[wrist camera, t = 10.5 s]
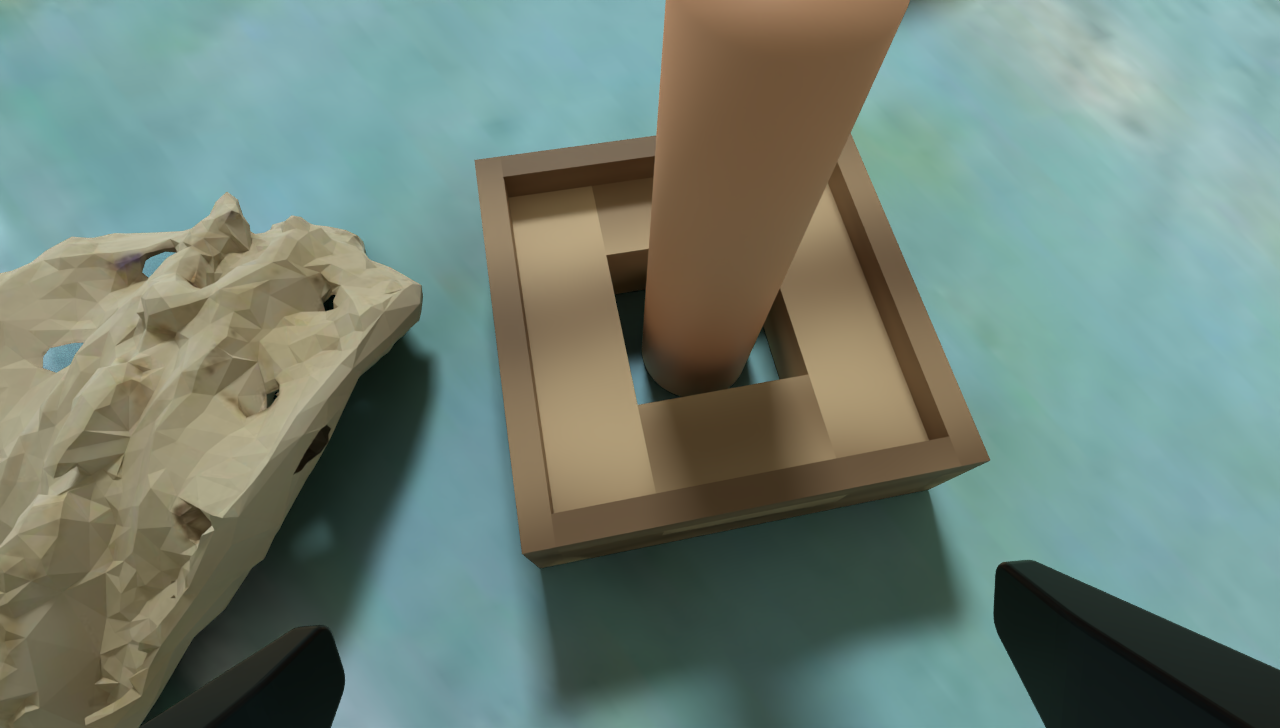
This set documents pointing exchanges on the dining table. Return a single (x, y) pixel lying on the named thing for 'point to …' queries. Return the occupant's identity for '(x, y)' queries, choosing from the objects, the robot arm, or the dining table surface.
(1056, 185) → the dining table surface
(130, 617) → the coral
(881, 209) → the tray box
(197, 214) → the dining table surface
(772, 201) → the peg
